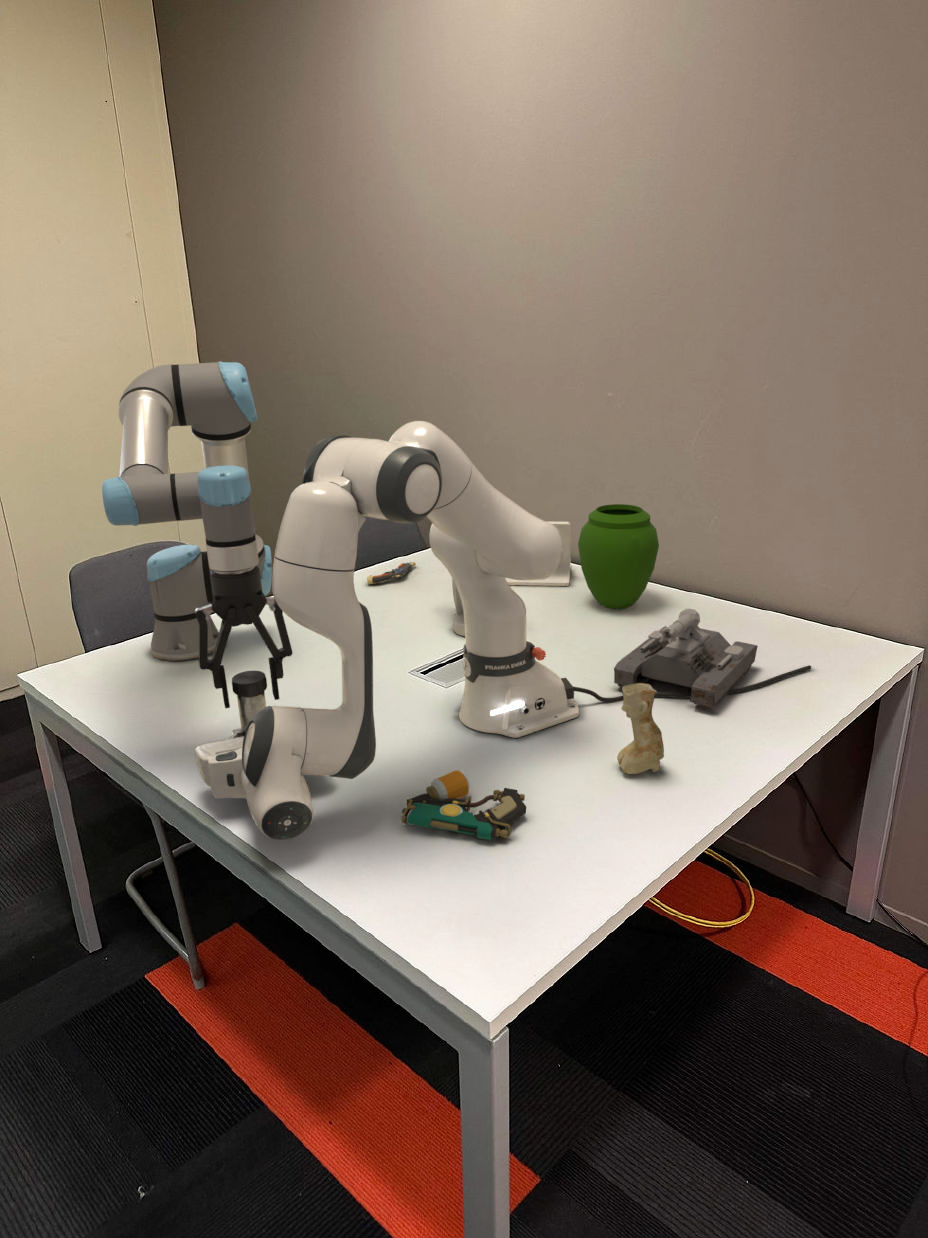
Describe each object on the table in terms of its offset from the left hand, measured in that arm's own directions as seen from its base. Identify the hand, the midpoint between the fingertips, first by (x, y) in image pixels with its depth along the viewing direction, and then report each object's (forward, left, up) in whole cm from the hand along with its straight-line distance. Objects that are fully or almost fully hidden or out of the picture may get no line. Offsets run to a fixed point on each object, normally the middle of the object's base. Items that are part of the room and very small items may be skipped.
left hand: (251, 700), depth 141 cm
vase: (+2, +104, -12) cm, 105 cm away
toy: (+37, +76, -12) cm, 86 cm away
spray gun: (+37, +11, -12) cm, 41 cm away
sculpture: (+49, +40, -12) cm, 65 cm away
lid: (0, 0, +4) cm, 4 cm away
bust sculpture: (-18, +70, -12) cm, 74 cm away
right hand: (-1, 0, -6) cm, 6 cm away
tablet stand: (-31, +109, -12) cm, 114 cm away
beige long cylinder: (0, 0, -12) cm, 12 cm away
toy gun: (-61, +85, -12) cm, 105 cm away
